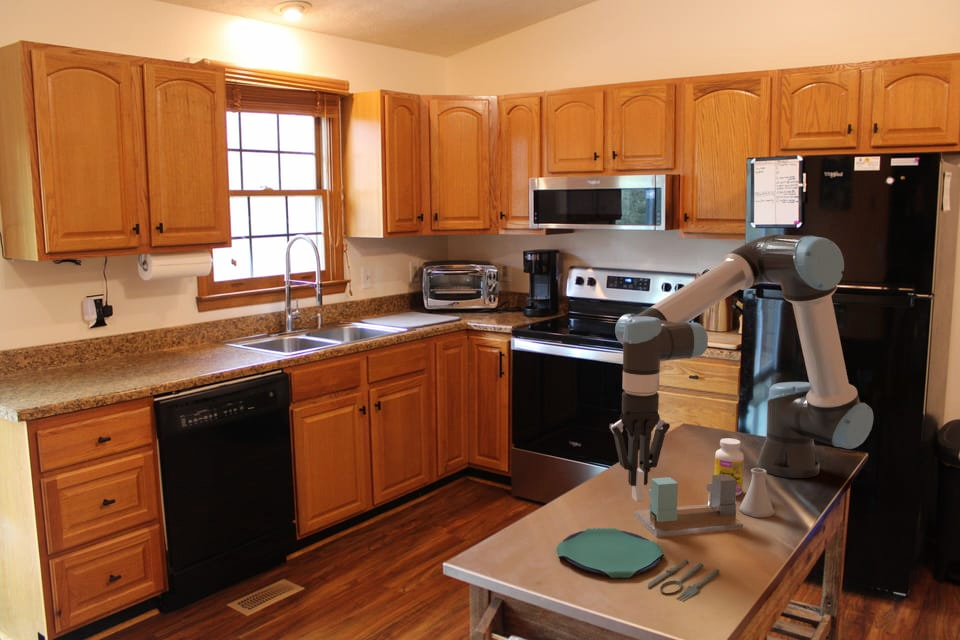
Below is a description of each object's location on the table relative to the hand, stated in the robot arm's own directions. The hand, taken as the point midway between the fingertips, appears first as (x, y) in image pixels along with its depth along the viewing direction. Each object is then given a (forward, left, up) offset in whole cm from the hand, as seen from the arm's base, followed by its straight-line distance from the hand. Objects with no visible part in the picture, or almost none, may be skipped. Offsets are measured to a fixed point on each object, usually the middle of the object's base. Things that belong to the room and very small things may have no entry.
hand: (637, 499), depth 172 cm
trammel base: (-13, -2, -7) cm, 15 cm away
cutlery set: (+7, +14, -8) cm, 18 cm away
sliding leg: (-6, -2, -6) cm, 8 cm away
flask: (-31, -4, -8) cm, 32 cm away
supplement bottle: (-31, -17, -8) cm, 36 cm away
